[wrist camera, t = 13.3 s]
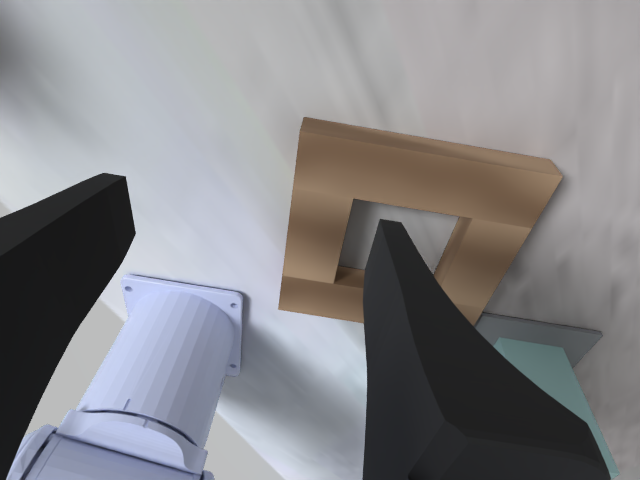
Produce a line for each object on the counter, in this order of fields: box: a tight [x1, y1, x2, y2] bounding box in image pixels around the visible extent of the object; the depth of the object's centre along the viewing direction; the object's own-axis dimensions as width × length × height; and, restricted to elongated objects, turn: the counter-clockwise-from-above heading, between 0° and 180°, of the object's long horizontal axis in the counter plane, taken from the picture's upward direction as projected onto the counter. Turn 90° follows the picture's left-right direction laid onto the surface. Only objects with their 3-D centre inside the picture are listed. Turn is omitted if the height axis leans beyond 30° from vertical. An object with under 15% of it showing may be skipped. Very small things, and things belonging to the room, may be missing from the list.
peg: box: [493, 337, 620, 480], centre depth 26 cm, size 4×4×8 cm
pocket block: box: [278, 117, 563, 326], centre depth 23 cm, size 12×12×2 cm
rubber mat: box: [474, 313, 603, 368], centre depth 29 cm, size 8×8×1 cm
